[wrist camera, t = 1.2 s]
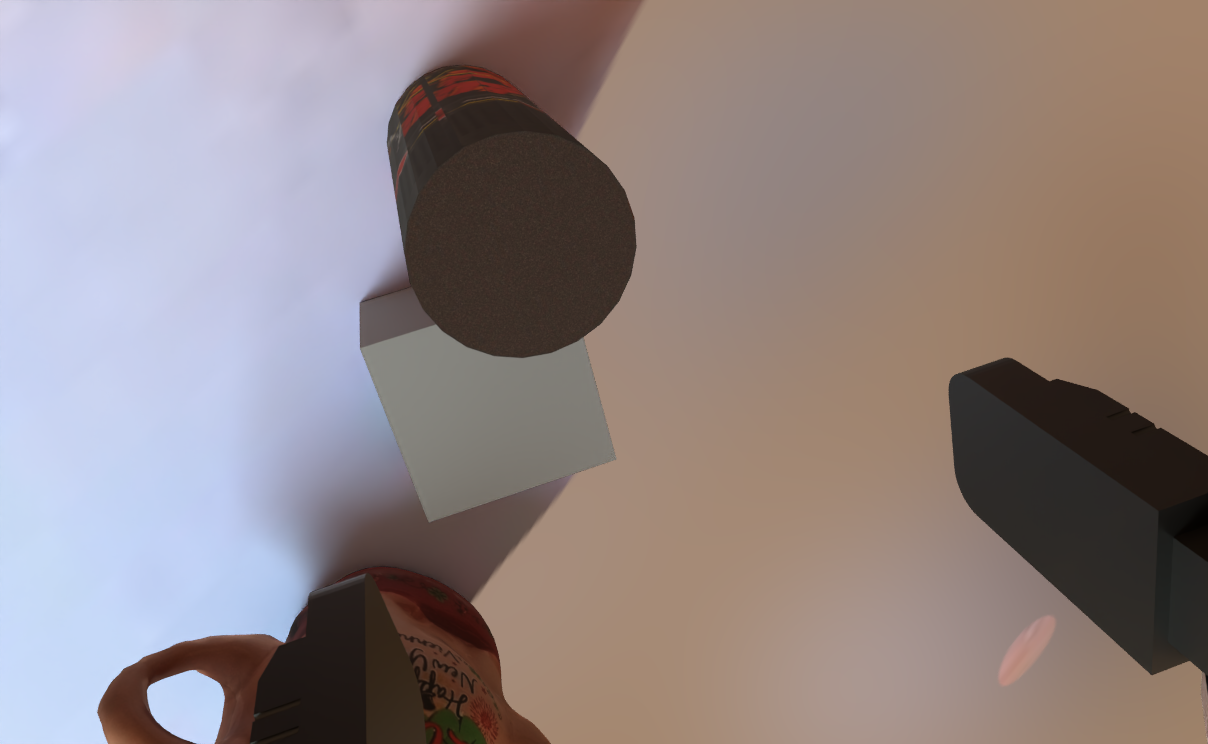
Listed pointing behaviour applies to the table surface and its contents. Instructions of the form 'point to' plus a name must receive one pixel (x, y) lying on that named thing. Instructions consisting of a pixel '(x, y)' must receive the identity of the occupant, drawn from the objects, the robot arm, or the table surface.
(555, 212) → the deodorant
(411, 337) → the grey block
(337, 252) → the table surface
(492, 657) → the decorated ceramic mug
